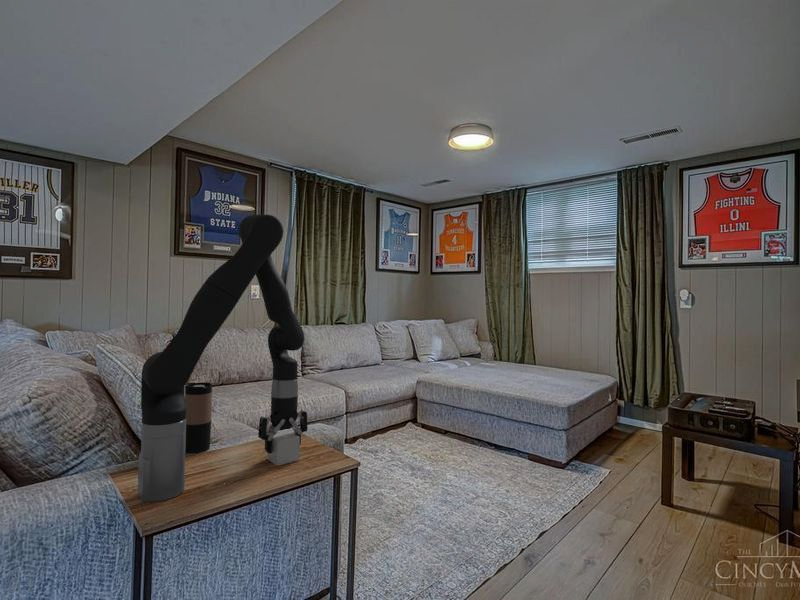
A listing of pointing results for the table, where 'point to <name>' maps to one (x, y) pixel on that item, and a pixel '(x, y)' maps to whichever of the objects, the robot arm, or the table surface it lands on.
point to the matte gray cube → (284, 448)
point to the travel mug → (198, 417)
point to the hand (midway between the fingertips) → (283, 449)
